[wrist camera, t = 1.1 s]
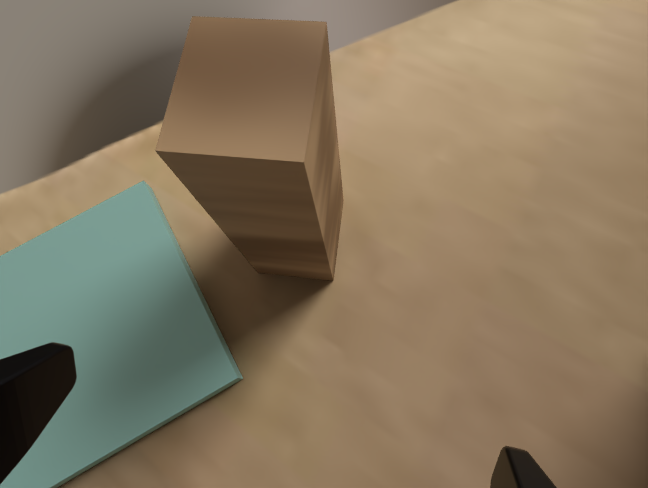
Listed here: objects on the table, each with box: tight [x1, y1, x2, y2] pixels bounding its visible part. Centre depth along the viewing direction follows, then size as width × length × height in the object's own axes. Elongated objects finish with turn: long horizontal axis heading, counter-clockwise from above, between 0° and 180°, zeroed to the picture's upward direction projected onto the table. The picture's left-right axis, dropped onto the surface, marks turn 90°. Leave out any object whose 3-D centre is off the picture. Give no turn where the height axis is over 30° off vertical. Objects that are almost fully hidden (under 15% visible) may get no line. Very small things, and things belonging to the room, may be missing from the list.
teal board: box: [0, 181, 243, 488], centre depth 23 cm, size 12×12×1 cm
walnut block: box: [155, 16, 343, 281], centre depth 18 cm, size 4×4×12 cm
